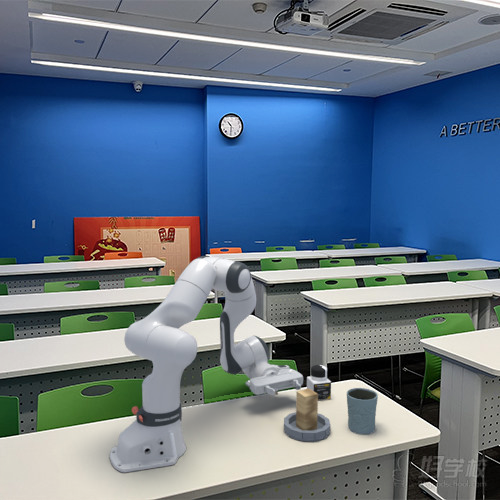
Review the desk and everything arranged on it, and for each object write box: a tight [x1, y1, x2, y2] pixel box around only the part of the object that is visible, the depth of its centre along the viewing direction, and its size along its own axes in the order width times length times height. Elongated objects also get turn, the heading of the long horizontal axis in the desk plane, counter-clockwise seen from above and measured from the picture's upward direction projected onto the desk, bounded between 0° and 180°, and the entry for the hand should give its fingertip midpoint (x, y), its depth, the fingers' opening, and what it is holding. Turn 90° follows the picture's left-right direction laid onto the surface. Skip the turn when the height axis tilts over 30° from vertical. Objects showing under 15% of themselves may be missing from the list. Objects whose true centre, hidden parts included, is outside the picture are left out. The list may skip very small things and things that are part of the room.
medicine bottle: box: [306, 364, 332, 402], centre depth 187 cm, size 7×7×12 cm
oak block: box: [295, 388, 319, 431], centre depth 161 cm, size 5×5×12 cm
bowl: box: [283, 411, 331, 443], centre depth 162 cm, size 15×15×3 cm
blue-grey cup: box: [346, 387, 379, 435], centre depth 163 cm, size 10×10×12 cm
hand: (287, 390), depth 171 cm, fingers open, 8 cm apart
